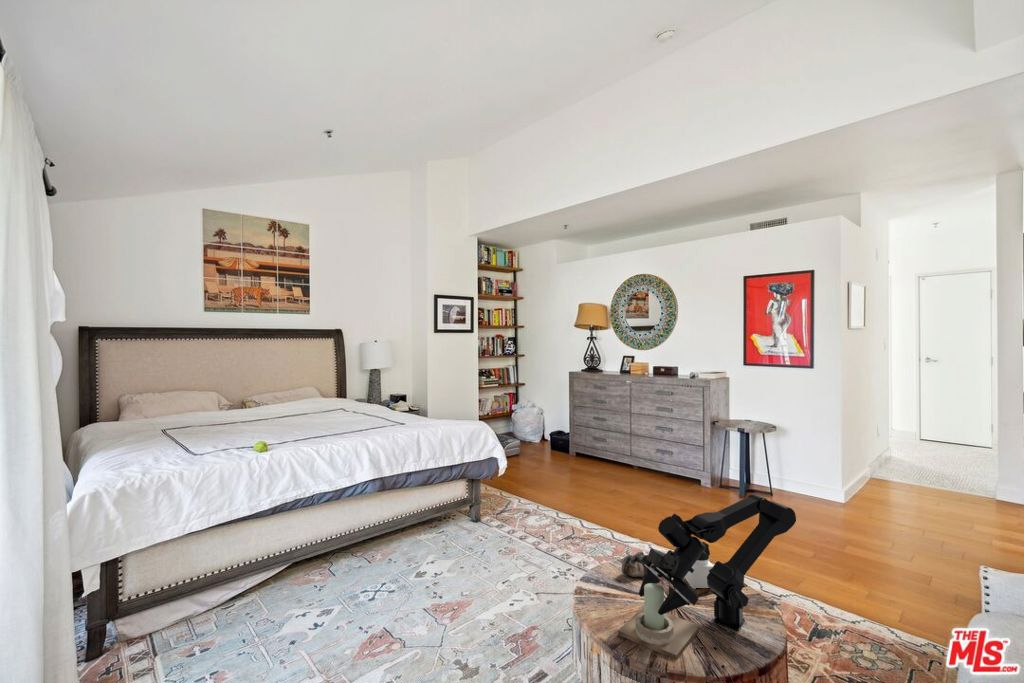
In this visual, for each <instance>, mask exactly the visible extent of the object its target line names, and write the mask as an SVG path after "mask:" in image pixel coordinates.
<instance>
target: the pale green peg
mask: <svg viewBox="0 0 1024 683" xmlns="http://www.w3.org/2000/svg"><path fill="white" fill-rule="evenodd" d="M643 600H644V601H643V602H644V604H643V606H644V623H645V628H648V629H650V630H657V631H660V630H664V614H663V615H660V614H659V613H658V610H659V608H660V607H661V605H662V604H663V602H664V601H665V588H664V587H663V586H662V585H660V584H659V583H658V584H655V583H648V584H646V585H645V586H644V596H643Z"/></svg>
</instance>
